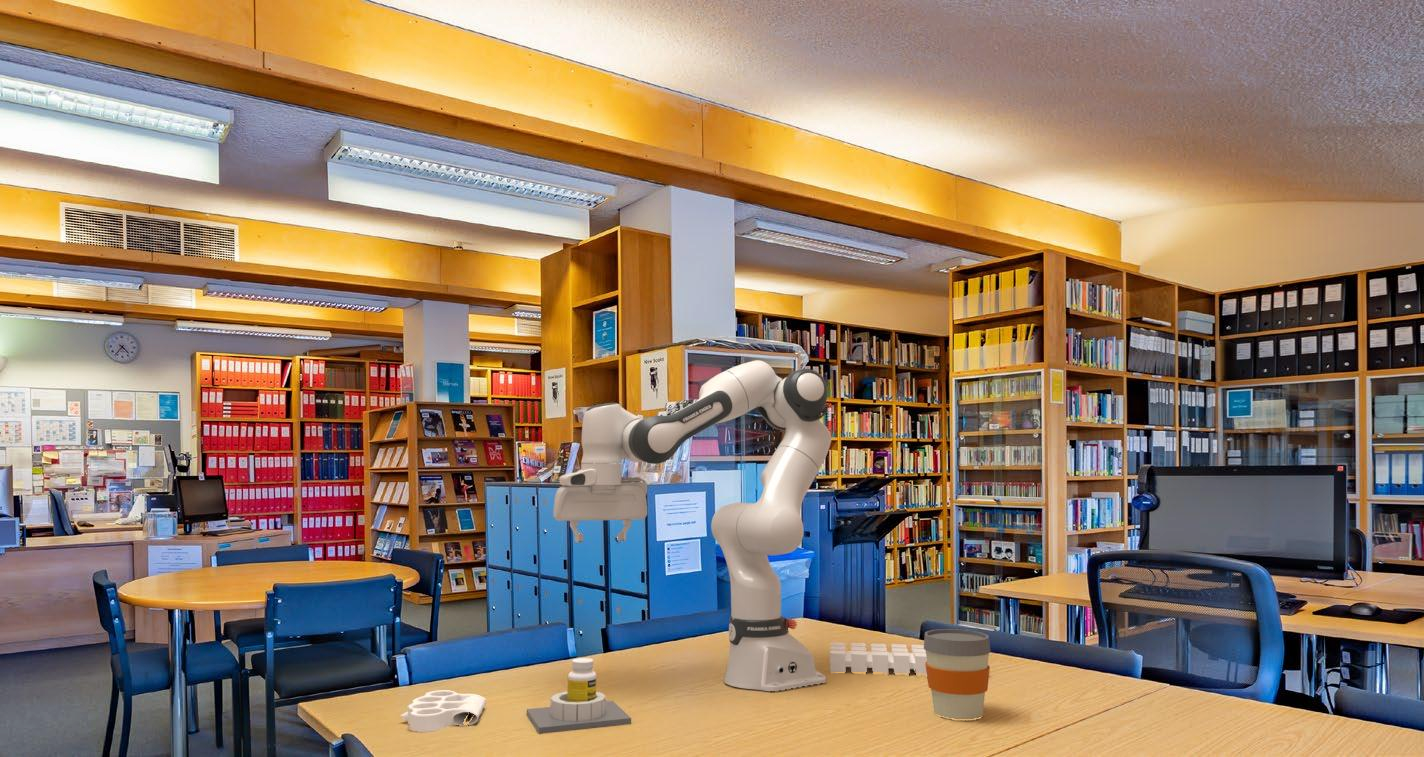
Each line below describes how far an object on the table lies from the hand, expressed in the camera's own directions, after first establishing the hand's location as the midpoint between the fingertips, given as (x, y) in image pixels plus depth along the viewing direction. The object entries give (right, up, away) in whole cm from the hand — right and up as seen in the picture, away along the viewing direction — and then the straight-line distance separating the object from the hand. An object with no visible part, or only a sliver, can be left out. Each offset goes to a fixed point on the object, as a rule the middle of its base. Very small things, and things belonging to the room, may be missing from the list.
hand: (600, 541), depth 194 cm
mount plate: (-1, -29, -25) cm, 38 cm away
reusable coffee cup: (+72, -30, -21) cm, 80 cm away
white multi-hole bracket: (-27, -30, -24) cm, 47 cm away
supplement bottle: (-1, -28, -24) cm, 37 cm away
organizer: (+70, -34, +16) cm, 79 cm away
